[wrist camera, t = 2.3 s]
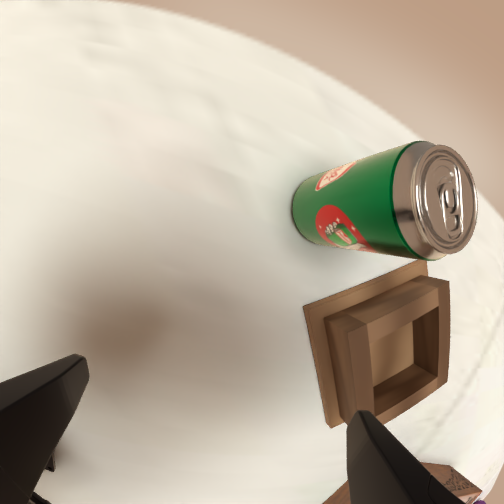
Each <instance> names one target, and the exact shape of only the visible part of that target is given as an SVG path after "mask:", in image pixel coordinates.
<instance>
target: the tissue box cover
mask: <svg viewBox="0 0 504 504" xmlns="http://www.w3.org/2000/svg"><path fill="white" fill-rule="evenodd" d="M420 463H421V464H422V465H423V466H424V467H425V468H426V469H427V470H428V471H429V472H430V473H431V474H432V475H433V476H434V477H435V478H436V479H437V480H438V481H440V482H441V483H442V484H443V485H444V486H445V487H446V488H447V489H448V490H450V491H451V492H452V493H453V494H454V495H456V496H457V497H458V498H460V499H461V500H462V501H464V502H465V503H466V504H472V503H473V501H474V500H475V499H476V498H477V497H478V496H479V495H480V494H481V492H482V490H481V489H479V488H478V487H477V486H475V485H474V484H473V483H471V482H470V481H469V480H468V479H466V478H465V477H464V476H462V475H461V474H460V473H459V472H457V471H456V470H455V469H454V468H452V467H451V466H450V465H440V464H431V463H423V462H420ZM322 504H351V503H350V494H349V485H348V480H347V481H346V482H345V483H344V484H343V485H342V486H341V487H340V488H339V489H338V490H337V491H336V492H335V493H334V494H333V495H331V496H330V497H329V498H328V499H327V500H326V501H325V502H324V503H322Z"/></svg>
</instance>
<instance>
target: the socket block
mask: <svg viewBox="0 0 504 504" xmlns="http://www.w3.org/2000/svg"><path fill="white" fill-rule="evenodd" d="M303 309H304V313H305V318H306V322H307V327H308V332H309V336H310V341H311V346H312V351H313V356H314V361H315V366H316V371H317V376H318V381H319V386H320V391H321V396H322V402H323V407H324V413H325V418H326V423H327V424H328V425H329V427H330V428H333V427H335V426H338V425H340V424H342V423H344V422H345V423H346V424H347V425H348V424H349V422H350V421H351V419H352V417H353V415H354V414H355V412H356V411H357V410H369V411H370V412H371V413H372V414H373V415H374V416H375V417H376V418H377V419H378V420H379V421H380V422H381V423H382V424H383V425H384V424H385V423H387V422H389V421H391V420H392V419H394V418H395V417H397V416H399V415H400V414H402V413H403V412H405V411H407V410H408V409H410V408H411V407H413V406H414V405H416V404H417V403H419V402H420V401H421V400H423V399H424V398H426V397H427V396H429V395H430V394H431V393H433V392H434V391H436V390H437V389H438V388H440V387H441V386H442V385H444V384H445V383H446V382H447V379H448V368H449V352H450V288H449V281H446V280H442V279H437V278H432V277H428V269H427V261H425V260H417V261H414V262H412V263H410V264H408V265H405V266H403V267H401V268H398V269H396V270H394V271H391V272H389V273H387V274H384V275H382V276H380V277H377V278H375V279H372V280H370V281H368V282H365V283H363V284H360V285H358V286H355V287H353V288H350V289H348V290H345V291H342V292H340V293H337V294H335V295H332V296H329V297H327V298H324V299H321V300H319V301H316V302H313V303H311V304H308V305H305V306H303Z"/></svg>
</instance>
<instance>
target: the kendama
mask: <svg viewBox="0 0 504 504" xmlns="http://www.w3.org/2000/svg"><path fill="white" fill-rule="evenodd" d="M474 504H486V503H485V502H484V501H482V500H480V501H477V502H475V503H474Z"/></svg>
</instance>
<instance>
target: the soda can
mask: <svg viewBox="0 0 504 504" xmlns="http://www.w3.org/2000/svg"><path fill="white" fill-rule="evenodd" d="M477 211H478V201H477V192H476V187H475V183H474V180H473V177H472V174H471V172H470V170H469V168H468V166H467V164H466V163H465V161H464V160H463V158H462V157H461V156H460V155H459V154H458V153H457V152H456V151H454V150H453V149H452V148H450V147H447V146H444V145H434V144H433V143H430V142H427V141H415V142H411V143H408V144H405V145H402V146H399V147H396V148H393V149H390V150H386V151H383V152H380V153H377V154H374V155H371V156H369V157H366V158H363V159H360V160H357V161H354V162H351V163H348V164H345V165H342V166H340V167H337V168H334V169H331V170H328V171H326V172H323V173H320V174H317V175H315V176H312V177H310V178H308V179H307V180H305V181H304V182H303V183H302V184H301V185H300V187H299V188H298V190H297V191H296V193H295V196H294V200H293V217H294V221H295V223H296V226H297V228H298V229H299V231H300V232H301V234H302V235H303V236H304V237H305V238H307V239H308V240H309V241H311V242H313V243H315V244H318V245H324V246H331V247H338V248H345V249H352V250H359V251H366V252H373V253H379V254H386V255H393V256H399V257H406V258H412V259H419V260H425V261H435V260H439V259H441V258H443V257H445V256H446V255H447V254H453V253H457V252H459V251H460V250H462V249H463V248H464V247H465V246H466V245H467V243H468V242H469V240H470V239H471V237H472V234H473V232H474V229H475V225H476V220H477Z"/></svg>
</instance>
